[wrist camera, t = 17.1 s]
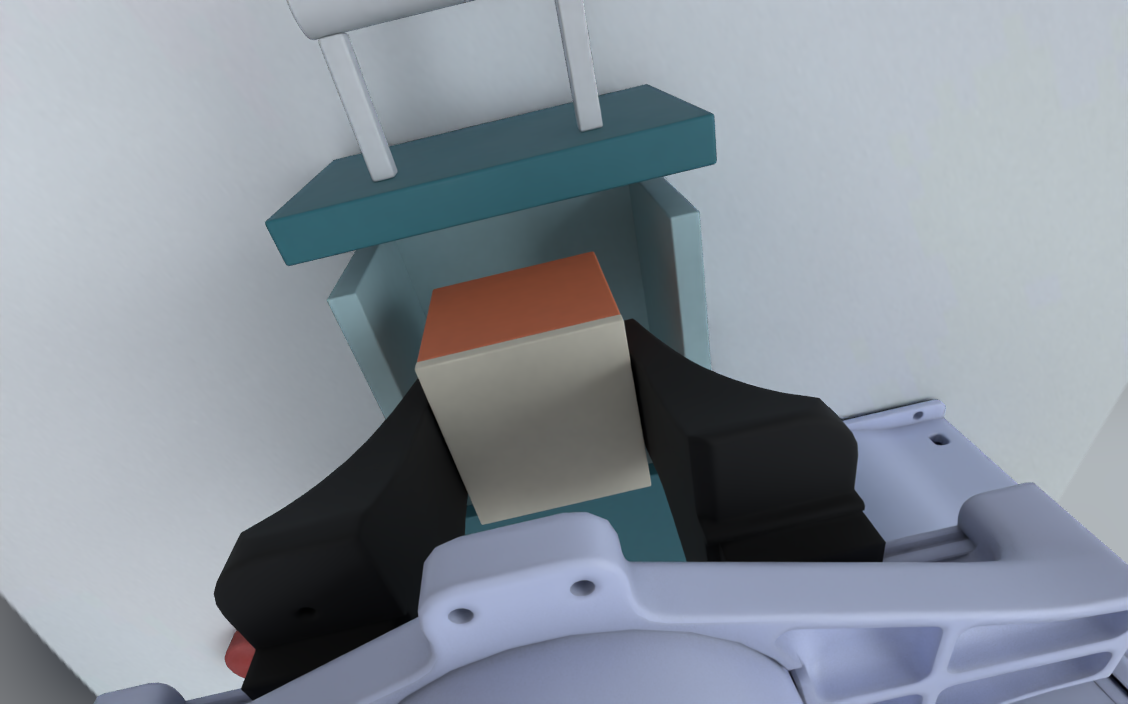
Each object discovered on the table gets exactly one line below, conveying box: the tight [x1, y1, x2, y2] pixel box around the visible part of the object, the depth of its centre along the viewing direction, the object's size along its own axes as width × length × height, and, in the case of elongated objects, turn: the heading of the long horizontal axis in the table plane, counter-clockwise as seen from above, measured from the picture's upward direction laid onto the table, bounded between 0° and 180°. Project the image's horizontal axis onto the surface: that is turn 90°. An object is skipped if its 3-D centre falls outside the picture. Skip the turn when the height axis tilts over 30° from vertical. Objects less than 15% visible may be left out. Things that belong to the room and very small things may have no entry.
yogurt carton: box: [415, 252, 651, 525], centre depth 14 cm, size 5×4×4 cm
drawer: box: [265, 0, 717, 505], centre depth 18 cm, size 17×11×7 cm, turn 12°
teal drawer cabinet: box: [465, 463, 687, 562], centre depth 25 cm, size 13×12×8 cm
